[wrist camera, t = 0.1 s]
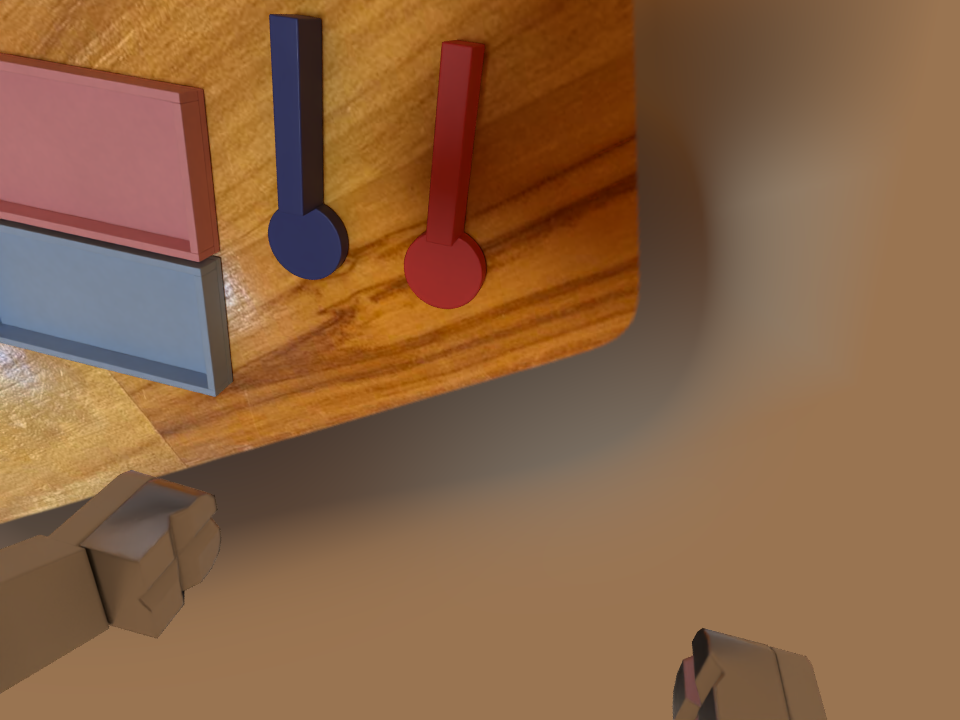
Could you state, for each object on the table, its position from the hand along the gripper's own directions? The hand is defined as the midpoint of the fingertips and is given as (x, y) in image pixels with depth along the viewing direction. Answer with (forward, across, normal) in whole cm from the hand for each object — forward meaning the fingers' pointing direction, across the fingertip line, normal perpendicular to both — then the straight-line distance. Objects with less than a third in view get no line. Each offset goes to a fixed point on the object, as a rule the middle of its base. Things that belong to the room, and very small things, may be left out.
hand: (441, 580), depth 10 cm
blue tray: (+24, +29, +12) cm, 39 cm away
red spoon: (+24, +6, +1) cm, 25 cm away
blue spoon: (+24, +14, +1) cm, 28 cm away
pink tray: (+24, +29, +2) cm, 38 cm away
